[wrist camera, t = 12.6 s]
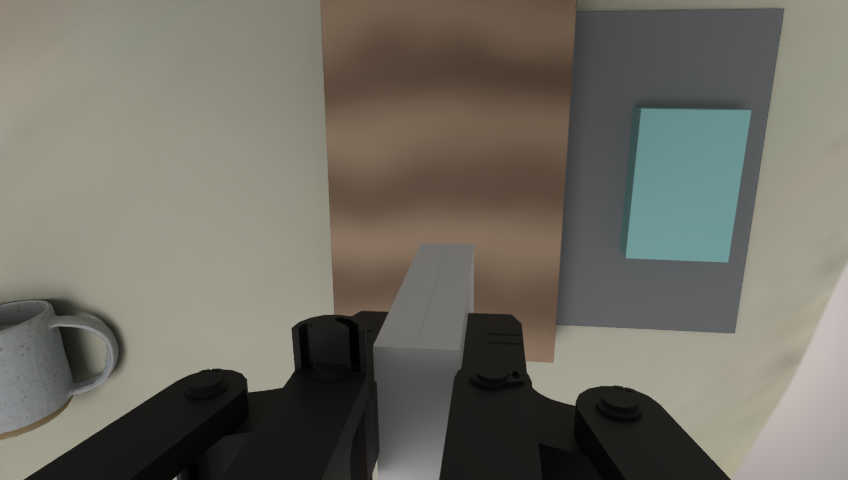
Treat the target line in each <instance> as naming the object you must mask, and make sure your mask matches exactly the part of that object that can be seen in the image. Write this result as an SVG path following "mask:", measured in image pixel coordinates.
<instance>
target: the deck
mask: <svg viewBox="0 0 848 480" xmlns="http://www.w3.org/2000/svg"><path fill="white" fill-rule="evenodd" d="M576 4H577V0H321V22H322V44H323V67H324V90H325V112H326V135H327V157H328V180H329V203H330V225H331V248H332V271H333V293H334V315H346V316H353V315H355V314H356V313H358V312H360V311H384V312H389V311H390V309H391V306H392V304H393V302H394V300H395V298H396V296H397V293H398V291H399V289H400V287H401V285H402V283H403V281H404V278H405V276H406V274H407V272H408V270H409V268H410V265H411V263H412V261H413V259H414V257H415V255H416V253H417V250H418V248H419V246H420V244H421V243H440V244H474V308H473V313H488V314H512V315H513V316H514V317H515V318H516V319H517V320H518V321H519V322H520V323H521V324H522V331H523V341H524V351H525V361H533V362H550V363H553V362H554V346H555V331H556V315H557V299H558V284H559V268H560V253H561V237H562V222H563V206H564V191H565V175H566V160H567V144H568V128H569V113H570V97H571V82H572V66H573V51H574V35H575V20H576Z"/></svg>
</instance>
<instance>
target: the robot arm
mask: <svg viewBox="0 0 848 480" xmlns="http://www.w3.org/2000/svg"><path fill="white" fill-rule="evenodd" d="M473 308H474V244H440V243H421V244H420V246H419V248H418V250H417V253H416V255H415V257H414V259H413V261H412V263H411V265H410V268H409V270H408V272H407V274H406V276H405V278H404V281H403V283H402V285H401V287H400V289H399V291H398V293H397V296H396V298H395V300H394V302H393V304H392V306H391V309H390V311H389V312H384V311H360V312H358V313H356V314H355V315H353V316H346V315H322V316H317V317H312V318H309V319H306V320H304V321H301V322H299V323H297V324H296V325H295V326H294V327H292V339H293V351H294V363H295V371H294V373H293V374H292V376H291V377H290V379H289V380H288V381H287V383H286V384H285V386H284V387H283V388H279V389H273V390H266V391H258V392H250V393H248V386H247V379H246V378H245V377H244V376H243V375H242V374H241V373H238V372H236V371H233V370H222V369H212V370H210V369H207V370H202V371H200V372H198V373H195V374H192V375H188V376H186V377H184V378H182V379H180V380H178V381H176V382H175V383H173V384H172V385H170V386H168V387H167V388H165V389H164V390H162V391H161V392H159V393H158V394H156V395H154V396H153V397H151V398H150V399H148V400H147V401H145V402H144V403H142V404H141V405H139V406H137V407H136V408H134V409H133V410H131V411H130V412H128V413H127V414H125V415H123V416H122V417H120V418H119V419H117V420H116V421H114V422H113V423H111V424H109V425H108V426H106V427H105V428H103V429H102V430H100V431H99V432H97V433H96V434H94V435H92V436H91V437H89V438H88V439H86V440H85V441H83V442H82V443H80V444H78V445H77V446H75V447H74V448H72V449H71V450H69V451H68V452H66V453H64V454H63V455H61V456H60V457H58V458H57V459H55V460H54V461H52V462H51V463H49V464H47V465H46V466H44V467H43V468H41V469H40V470H38V471H37V472H35V473H33V474H32V475H30V476H29V477H27V478H26V479H24V480H172V479H174V478H175V477H176V476H177V480H372V473H373V470H374V467H375V464H376V461H377V460H378V480H731V479H730V478H729V477H728V476H727V475H726V474H725V473H724V472H723V471H722V470H721V469H720V468H719V467H718V466H717V464H716V463H715V462H714V461H713V460H712V459H711V458H710V457H709V456H708V455H707V454H706V453H705V452H704V451H703V450H702V449H701V448H700V446H699V445H698V444H697V443H696V442H695V441H694V440H693V439H692V438H691V437H690V436H689V435H688V434H687V433H686V432H685V431H684V430H683V429H682V427H681V426H680V425H679V424H678V423H677V422H676V421H675V420H674V419H673V418H672V417H671V416H670V415H669V414H668V413H667V412H666V411H665V409H664V408H663V407H662V406H661V405H660V404H659V403H657V402H656V401H655V400H653V399H652V398H651V397H649V396H647V395H645V394H642V393H640V392H638V391H635V390H634V389H630V388H627V387H625V388H623V387H622V386H600V387H595V388H590V389H587V390H586V391H584V392H582V393H581V394H579V396H578V398H577V400H576V406H574V405H569V404H565V403H561V402H558V401H555V400H551V399H549V398H547V397H545V396H543V395H541V394H540V393H538V392H537V391H535V390H534V389H533V388H532V381H531V379H530V377H529V375H528V374H527V371H526V361H525V351H524V341H523V331H522V324H521V323H520V322H519V321H518V320H517V319H516V318H515V317H514V316H513V315H512V314H488V313H473Z"/></svg>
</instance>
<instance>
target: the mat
mask: <svg viewBox="0 0 848 480" xmlns="http://www.w3.org/2000/svg"><path fill="white" fill-rule="evenodd" d="M783 14H784V9H726V10H660V11H593V12H576V20H575V35H574V51H573V66H572V82H571V97H570V113H569V128H568V144H567V160H566V175H565V191H564V206H563V222H562V237H561V253H560V268H559V284H558V299H557V315H556V325H574V326H595V327H615V328H636V329H656V330H677V331H698V332H718V333H735V328H736V321H737V315H738V308H739V302H740V295H741V289H742V282H743V275H744V269H745V262H746V256H747V249H748V243H749V236H750V230H751V223H752V217H753V210H754V203H755V197H756V190H757V184H758V177H759V171H760V164H761V158H762V151H763V145H764V138H765V131H766V125H767V118H768V112H769V105H770V99H771V92H772V86H773V79H774V73H775V66H776V59H777V53H778V46H779V40H780V33H781V27H782V20H783ZM633 107H636V108H717V109H745V110H751V117H750V123H749V130H748V136H747V143H746V149H745V156H744V162H743V169H742V175H741V182H740V188H739V195H738V201H737V208H736V214H735V221H734V227H733V234H732V240H731V247H730V253H729V260H728V262H704V261H680V260H656V259H633V258H625V257H624V255H623V254H622V253H621V251H620V250H619V246H620V236H621V226H622V216H623V206H624V196H625V186H626V176H627V166H628V156H629V146H630V136H631V126H632V116H633Z"/></svg>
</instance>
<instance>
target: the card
mask: <svg viewBox="0 0 848 480" xmlns="http://www.w3.org/2000/svg"><path fill="white" fill-rule="evenodd" d="M750 117H751V110H745V109H717V108H636V107H633V116H632V126H631V136H630V146H629V156H628V166H627V176H626V186H625V196H624V206H623V216H622V226H621V236H620V246H619V250H620V251H621V253H622V254H623V255H624V257H625V258H633V259H656V260H680V261H704V262H728V260H729V253H730V247H731V240H732V234H733V227H734V221H735V214H736V208H737V201H738V195H739V188H740V182H741V175H742V169H743V162H744V156H745V149H746V143H747V136H748V130H749V123H750Z"/></svg>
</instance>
